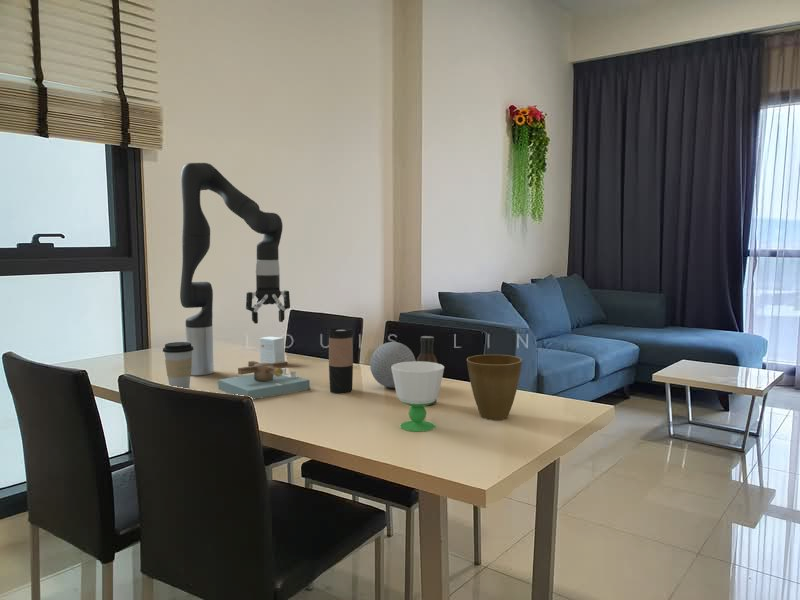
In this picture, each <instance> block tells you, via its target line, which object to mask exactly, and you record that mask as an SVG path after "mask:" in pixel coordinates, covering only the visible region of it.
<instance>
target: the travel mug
mask: <svg viewBox="0 0 800 600" xmlns="http://www.w3.org/2000/svg"><path fill="white" fill-rule="evenodd" d="M353 340H354V339H353V329H352V328H347V329H344V328H341V327H333V328H329V329H328V372H329V373H328V375H329V392H330V393H332V394H335V395H336V394H341V395H343V394H349V393H352V391H353V379H354V377H353V376H354V374H353V373H354V372H353V371H354V353H353V352H354V349H353V348H354V347H353V343H354V342H353Z"/></svg>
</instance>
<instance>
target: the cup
mask: <svg viewBox="0 0 800 600" xmlns="http://www.w3.org/2000/svg"><path fill="white" fill-rule="evenodd" d="M391 369H392V374H393V379H394V384H395V388H394V389H395V394H396V397H397V398H398V400H399V401H400V402H401V403H402V404H405V405H407V406H409V407H410V408H409V411H408V417H409V419H410V420H409V421H405V422H402V423H400V425H399V427H400V428H401V429H402V430H404V431H408V432H414V433H415V432H416V433H417V432H419V433H421V432H422V431H423V432H428V431H432V430H434V429H435V428H436V425H435V424H434V423H433V422H431V421H426V420H425V419H426V416H427V410H426V409H425V407H426V406H430V405H429V404H431V403H433V402H435V401H436V399H437V400H438V397H439V394H440V391H441V385H442V380H443V376H444V372H445V371H444V370H445V366H444V365H443V364H441V363H439V362H438V363H433V362H422V361H417V360H415V361H412V362H401V363H397V364H393V365H392V367H391ZM433 428H434V429H433Z"/></svg>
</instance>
